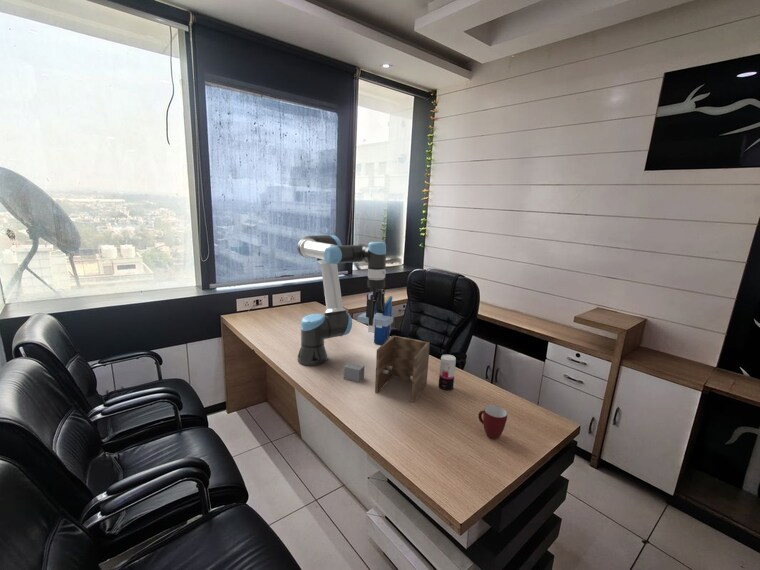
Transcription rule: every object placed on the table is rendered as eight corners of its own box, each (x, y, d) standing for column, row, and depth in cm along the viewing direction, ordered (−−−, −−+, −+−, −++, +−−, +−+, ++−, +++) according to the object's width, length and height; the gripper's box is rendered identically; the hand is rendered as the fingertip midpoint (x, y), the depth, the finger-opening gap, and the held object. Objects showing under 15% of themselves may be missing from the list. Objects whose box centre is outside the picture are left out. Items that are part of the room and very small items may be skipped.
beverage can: (445, 393, 157) (448, 361, 154) (435, 386, 163) (438, 356, 159) (456, 389, 161) (459, 358, 157) (446, 383, 166) (448, 353, 163)
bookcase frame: (374, 392, 155) (376, 349, 151) (391, 374, 172) (393, 335, 168) (414, 402, 148) (417, 358, 144) (426, 382, 166) (429, 342, 161)
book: (384, 346, 207) (386, 304, 201) (372, 344, 208) (374, 303, 203) (390, 333, 227) (392, 295, 222) (379, 332, 229) (381, 294, 223)
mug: (470, 431, 131) (473, 407, 129) (482, 423, 136) (484, 399, 134) (497, 446, 123) (500, 420, 121) (508, 436, 129) (511, 411, 127)
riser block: (343, 378, 166) (343, 366, 165) (348, 374, 171) (349, 362, 169) (359, 382, 163) (359, 370, 162) (363, 377, 168) (364, 366, 166)
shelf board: (357, 321, 156) (357, 316, 155) (364, 317, 162) (364, 312, 162) (386, 326, 150) (387, 321, 150) (393, 322, 157) (393, 316, 156)
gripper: (374, 283, 142) (373, 337, 147) (393, 275, 160) (391, 324, 164) (357, 281, 145) (356, 335, 150) (378, 274, 163) (377, 322, 167)
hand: (375, 329), depth 157 cm, fingers closed on shelf board, 7 cm apart
